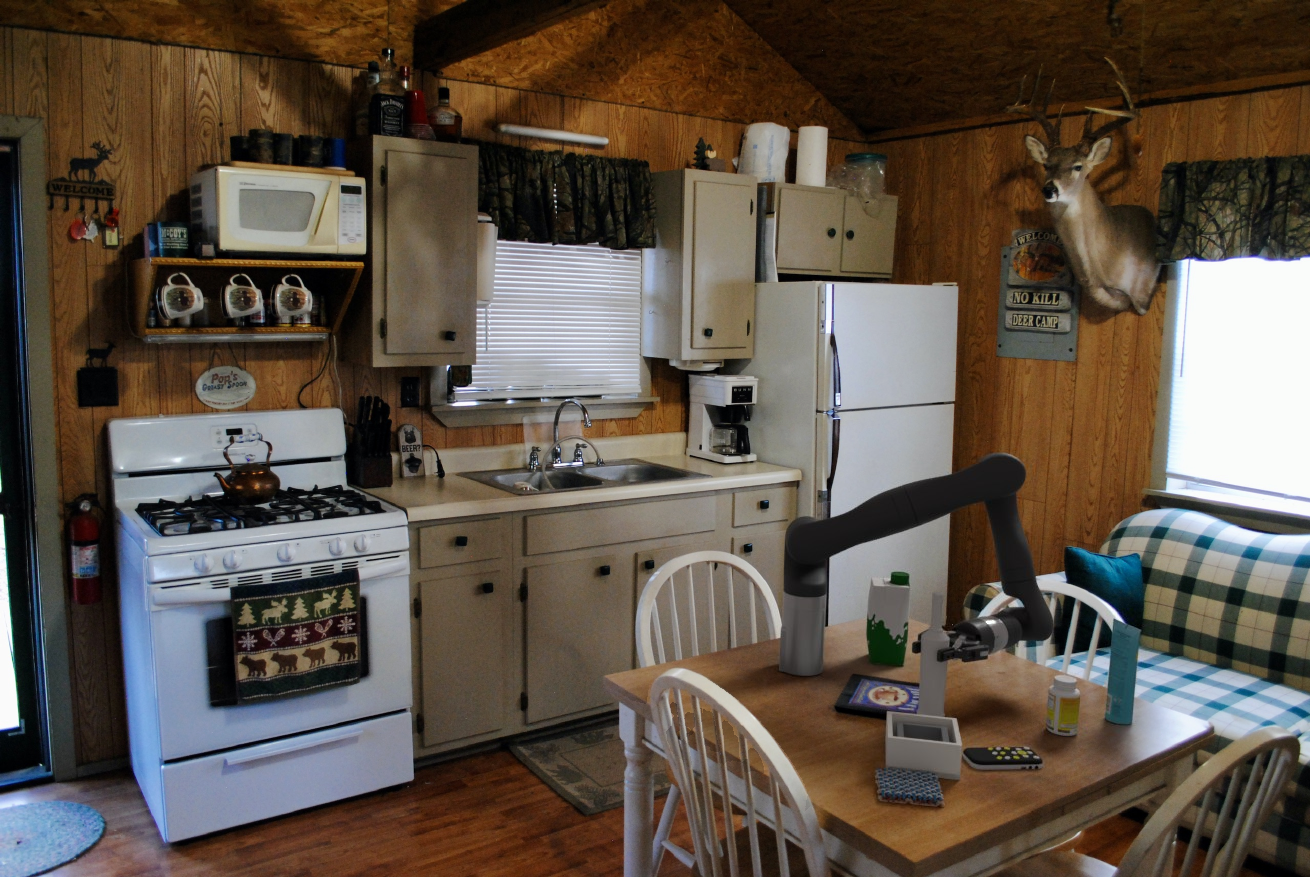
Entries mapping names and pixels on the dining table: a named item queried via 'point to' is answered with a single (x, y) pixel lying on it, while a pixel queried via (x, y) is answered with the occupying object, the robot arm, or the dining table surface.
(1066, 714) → the supplement bottle
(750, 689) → the dining table surface
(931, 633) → the bottle
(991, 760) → the remote control
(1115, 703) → the tube
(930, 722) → the walled box
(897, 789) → the woven mat
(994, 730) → the dining table surface
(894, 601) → the milk carton
